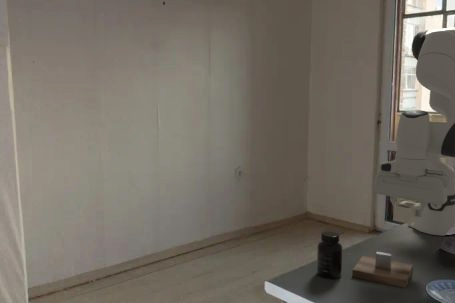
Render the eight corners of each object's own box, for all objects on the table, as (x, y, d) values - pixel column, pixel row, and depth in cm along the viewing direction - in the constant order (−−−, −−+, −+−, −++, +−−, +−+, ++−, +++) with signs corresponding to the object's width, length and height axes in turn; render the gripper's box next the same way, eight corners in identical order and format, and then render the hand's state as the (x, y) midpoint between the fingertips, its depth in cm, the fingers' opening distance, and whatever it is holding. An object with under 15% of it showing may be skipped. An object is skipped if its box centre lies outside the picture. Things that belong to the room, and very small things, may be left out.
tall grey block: (376, 264, 129) (377, 251, 129) (391, 267, 127) (391, 254, 127) (375, 266, 128) (375, 253, 127) (389, 269, 126) (390, 256, 125)
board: (362, 261, 137) (362, 255, 136) (412, 271, 130) (412, 264, 129) (352, 276, 126) (352, 269, 126) (405, 287, 119) (406, 280, 119)
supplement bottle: (322, 267, 132) (324, 228, 130) (345, 273, 128) (347, 232, 126) (312, 275, 127) (314, 234, 125) (335, 282, 123) (337, 239, 121)
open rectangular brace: (403, 215, 137) (404, 200, 136) (421, 218, 134) (422, 203, 133) (392, 220, 132) (394, 204, 131) (410, 224, 128) (412, 208, 127)
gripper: (453, 170, 126) (448, 219, 128) (382, 161, 140) (379, 205, 142) (445, 173, 121) (441, 223, 123) (372, 164, 135) (370, 209, 137)
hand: (407, 213), depth 132 cm, fingers closed on open rectangular brace, 5 cm apart
